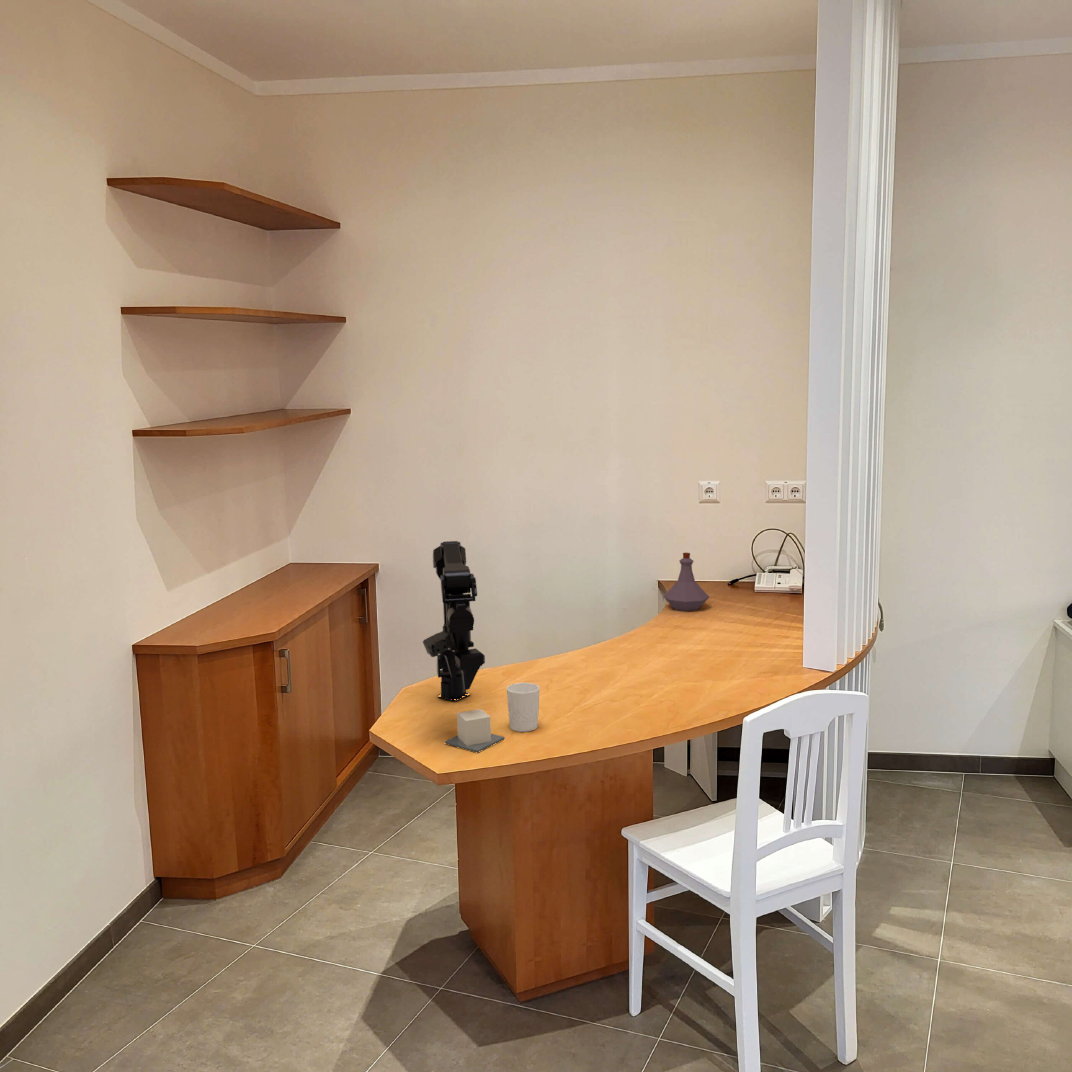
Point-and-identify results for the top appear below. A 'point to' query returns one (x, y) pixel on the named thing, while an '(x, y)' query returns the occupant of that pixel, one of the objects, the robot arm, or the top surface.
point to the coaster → (476, 747)
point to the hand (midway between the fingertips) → (460, 683)
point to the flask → (686, 589)
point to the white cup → (523, 706)
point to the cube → (474, 727)
